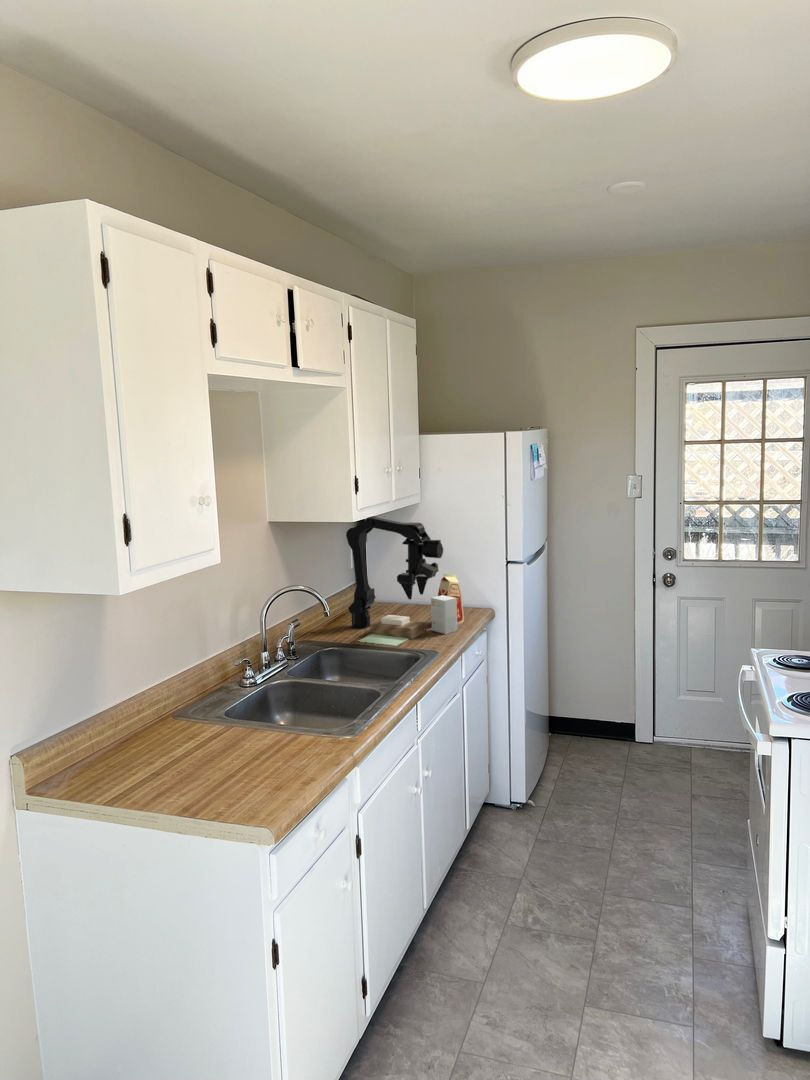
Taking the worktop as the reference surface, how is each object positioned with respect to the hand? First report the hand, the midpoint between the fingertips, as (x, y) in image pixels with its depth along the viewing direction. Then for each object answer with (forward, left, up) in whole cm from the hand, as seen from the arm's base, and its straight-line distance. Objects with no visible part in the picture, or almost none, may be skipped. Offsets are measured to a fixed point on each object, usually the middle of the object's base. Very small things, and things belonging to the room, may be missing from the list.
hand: (415, 596), depth 306 cm
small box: (+10, +5, -14) cm, 17 cm away
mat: (-5, -16, -14) cm, 22 cm away
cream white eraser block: (-6, -5, -10) cm, 13 cm away
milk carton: (+6, +18, -14) cm, 23 cm away
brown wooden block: (-5, -5, -14) cm, 15 cm away
